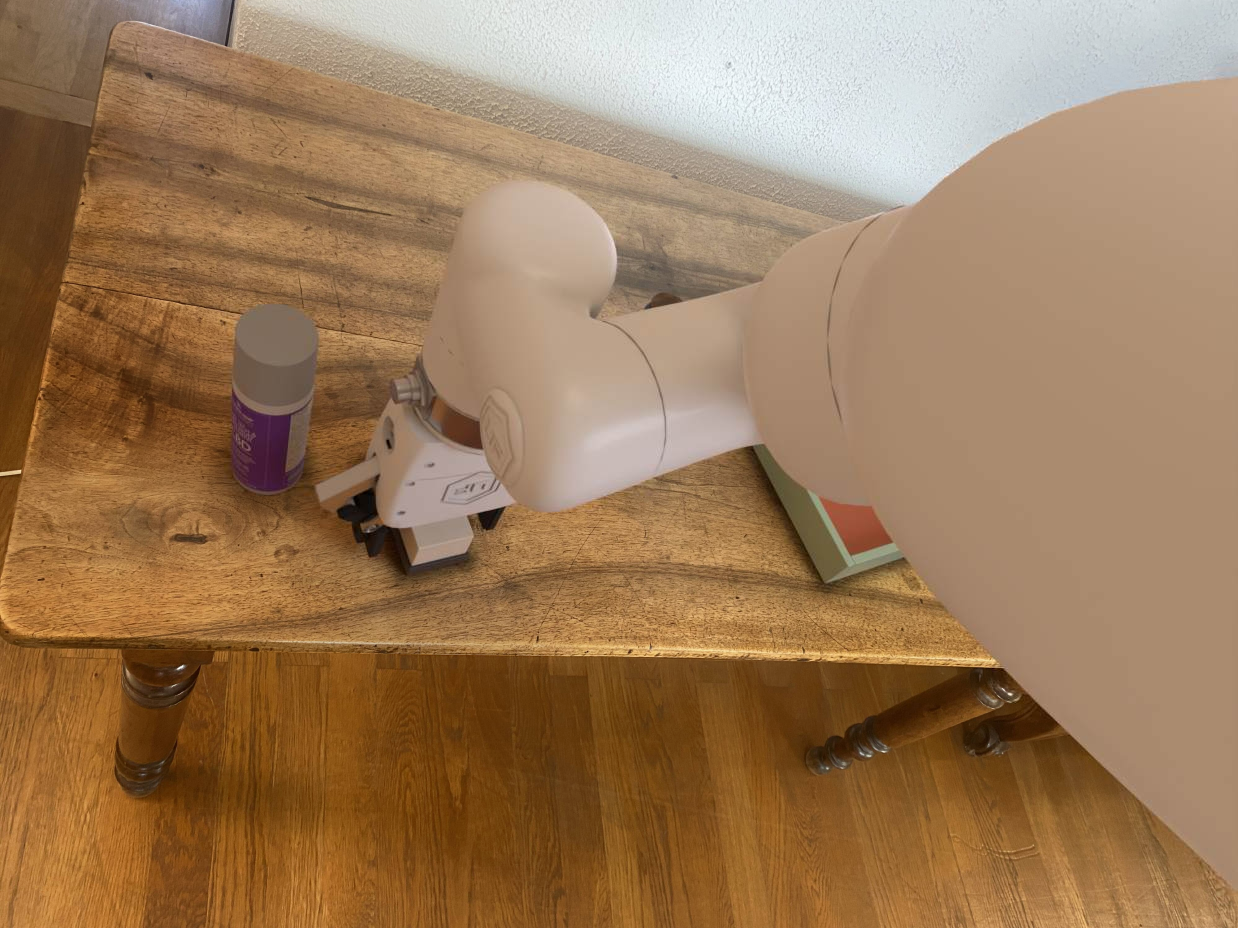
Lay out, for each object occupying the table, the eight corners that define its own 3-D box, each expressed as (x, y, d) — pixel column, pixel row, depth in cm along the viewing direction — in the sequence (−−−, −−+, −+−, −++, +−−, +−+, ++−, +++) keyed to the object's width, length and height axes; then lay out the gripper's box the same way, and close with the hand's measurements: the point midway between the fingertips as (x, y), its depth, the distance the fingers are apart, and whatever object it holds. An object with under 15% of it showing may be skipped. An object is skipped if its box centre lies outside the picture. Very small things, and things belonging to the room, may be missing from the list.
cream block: (465, 561, 63) (478, 538, 60) (406, 576, 61) (416, 552, 58) (427, 456, 66) (437, 428, 63) (369, 466, 64) (377, 438, 61)
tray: (800, 322, 90) (819, 299, 87) (932, 547, 81) (958, 530, 78) (693, 335, 83) (710, 312, 81) (824, 583, 74) (848, 566, 71)
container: (217, 476, 60) (215, 342, 48) (254, 427, 62) (261, 288, 51) (281, 506, 60) (295, 381, 48) (315, 456, 63) (336, 326, 51)
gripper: (344, 470, 43) (315, 604, 57) (642, 416, 51) (553, 544, 65) (304, 347, 45) (286, 503, 59) (594, 316, 54) (519, 459, 68)
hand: (426, 524), depth 62 cm, fingers open, 7 cm apart
